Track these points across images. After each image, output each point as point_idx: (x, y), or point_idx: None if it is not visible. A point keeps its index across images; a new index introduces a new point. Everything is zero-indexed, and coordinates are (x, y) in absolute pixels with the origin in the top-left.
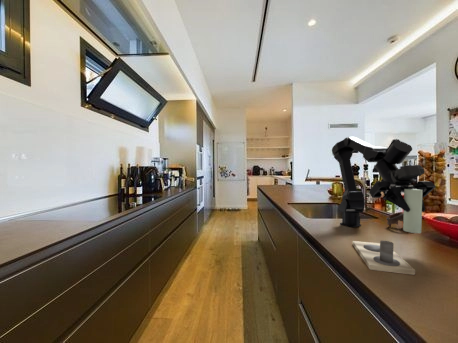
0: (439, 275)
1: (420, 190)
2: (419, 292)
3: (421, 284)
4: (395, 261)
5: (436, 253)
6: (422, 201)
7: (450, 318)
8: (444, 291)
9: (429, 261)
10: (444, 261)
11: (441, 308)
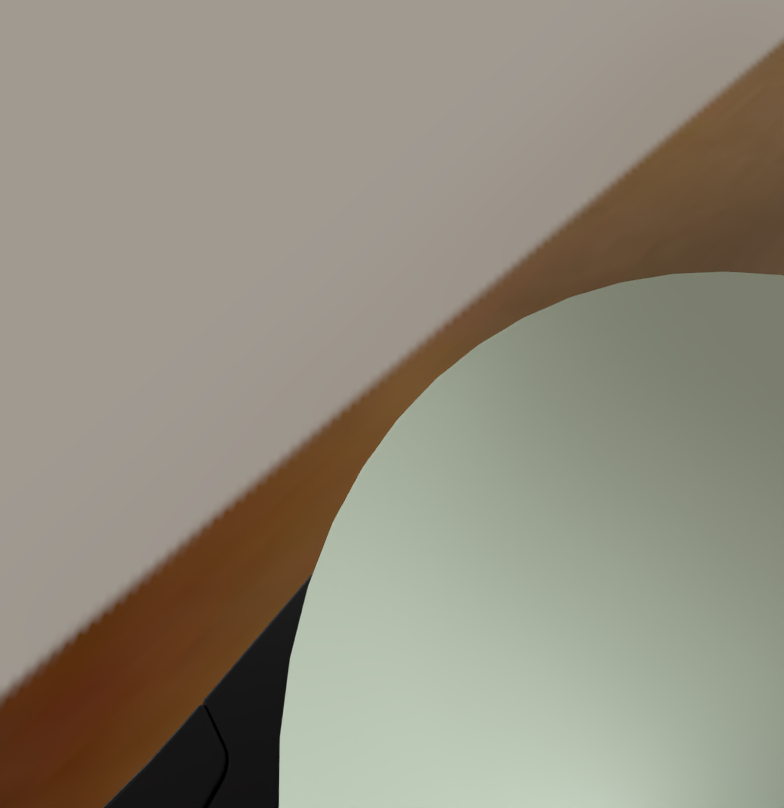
0: (549, 304)
1: (647, 280)
2: (773, 180)
3: (717, 232)
4: None
5: (228, 634)
6: (269, 662)
7: (768, 60)
8: (655, 182)
9: None
10: (329, 477)
11: (759, 98)
